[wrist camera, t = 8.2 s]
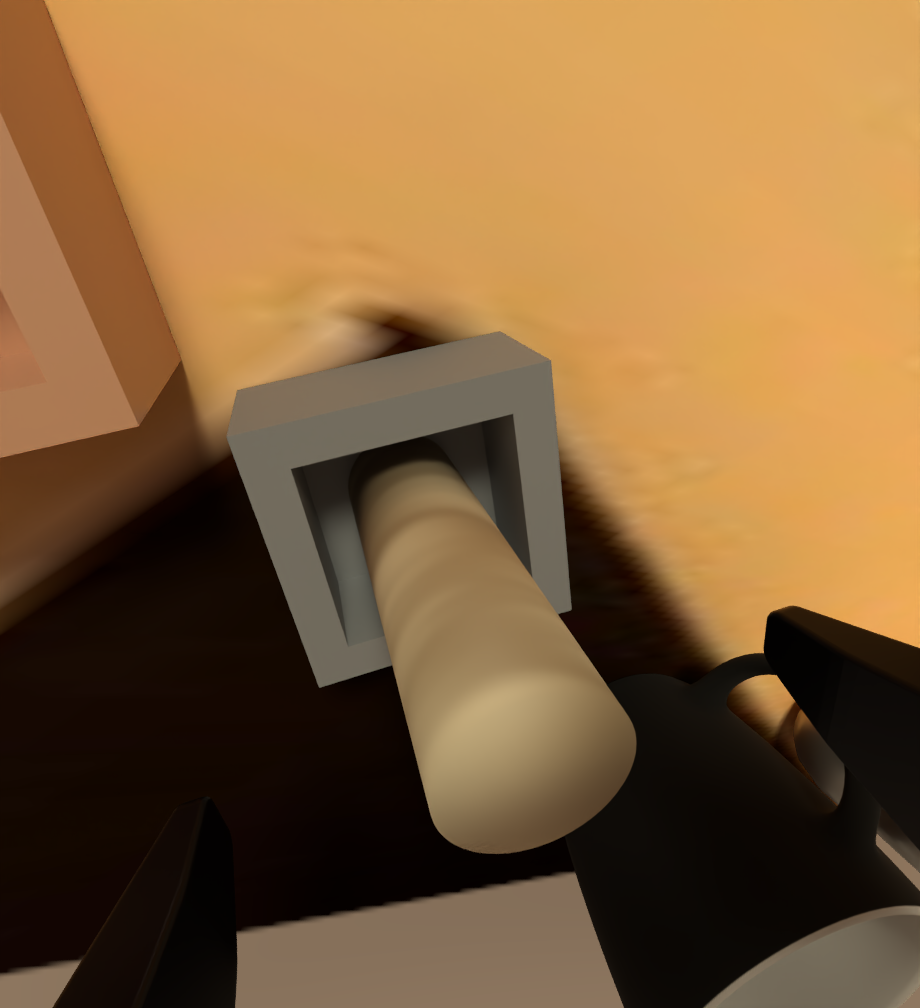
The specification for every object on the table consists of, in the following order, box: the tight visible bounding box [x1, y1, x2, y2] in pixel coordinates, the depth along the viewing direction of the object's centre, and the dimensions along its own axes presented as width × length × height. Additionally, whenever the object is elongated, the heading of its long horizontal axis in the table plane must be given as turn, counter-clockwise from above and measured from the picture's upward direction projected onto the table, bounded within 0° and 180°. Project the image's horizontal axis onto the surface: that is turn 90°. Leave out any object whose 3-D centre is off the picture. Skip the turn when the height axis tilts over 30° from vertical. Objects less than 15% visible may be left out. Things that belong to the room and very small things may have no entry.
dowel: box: [348, 436, 636, 854], centre depth 12 cm, size 3×3×10 cm
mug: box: [564, 653, 920, 1008], centre depth 20 cm, size 12×9×10 cm
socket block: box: [227, 332, 571, 688], centre depth 16 cm, size 7×7×4 cm
